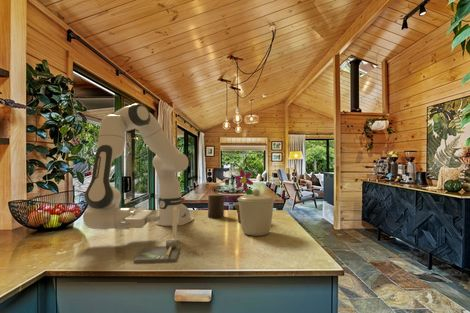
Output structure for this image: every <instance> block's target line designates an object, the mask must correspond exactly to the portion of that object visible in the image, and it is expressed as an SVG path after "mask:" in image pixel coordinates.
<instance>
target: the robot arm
mask: <svg viewBox="0 0 470 313" xmlns="http://www.w3.org/2000/svg"><path fill="white" fill-rule="evenodd" d="M134 129H136V130H137V131H138V132H139V133H140V136H141V138H142V139H143V141H144V142H145V144H146V146H147V148H148V149H149V151H151V152H153V153H154V154H155V156H154V157H153V158H152V166H153V168H154V170H155V171H156V174H157V178H158V185H159V188H158V189H159V197H158V199H157V200H158V201H157V202H158V208H157V215H155V214H153V210H151V209H145V208H144V209H142V208H141V209H140V208H138V209H137V208H136V207H120V204H121V201H122V193H121V191H120V189H118V188H116V187H114V186H112V185H111V183H110V180H111V178H110V176H111V170H112V164H113V162H114V160H116V159H117V158H119V157H121V156H122V155H123V153H124V150H125V145H126V132H129V131H132V130H134ZM96 148H97V149H96V153H95V157H94V163H93V168H92V173H91V174H92V175H91V179H90V182H89V185H88V187H87V188H86V190H85V194H84V199H85V202H86V204H87V205H88V206H89V207H88V208H87V209H85V210H84V212H83V216H82V218H83V219H82V220H83V223H84V225H85V226H86V227H87V229H91V230H101V231H102V230H106V231H107V230H111V229H114V230H130V229H142V228H144V227H145V226H146V225H147V224H148V223H152V222H155V224H156V225H158V226H163V227H164V226H165V227H168V226H171V227H172V224H173V208H174V207H175V206H177V226H183V225H186V224H188V223H190V222H192V221H194V220H195V217H193V216H191V211H190V209H189V208H188V207H187V206H186V205H185V204H183V202H184V201H186V197H185V196H184V197H183V196H181V183H180V181H179V180H178V178H177V175H176V173H181V172H183V171H184V172H185V170H187V168H188V167H189V158H188V156H187V155H186V154H185V153H182V152H181V151H180V150H179V149H178V148H177V147H176V146H175V145H174V143H172V142H171V141H170V139H169V138H168V136H167V134H166V133H165V131H164V129H163V128H162V126H161V124H160V122H158V119H157V118H156V117H155V116H154V115H153V114H152V113H151V112H150V111H149V109H148V108H147V107H146V106H145V105H143V104H142V103H133V104H131V105H127V106H123V107H121V108H120V109H118V110H115V111H114V112H113V113H111V114H106V115H105V116H103V118H102V119H101V122H100V125H99V129H98V137H97V147H96Z"/></svg>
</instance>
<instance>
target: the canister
mask: <svg viewBox="0 0 470 313" xmlns="http://www.w3.org/2000/svg"><path fill="white" fill-rule="evenodd" d="M252 191H253V192H252V193H253V194H250V195H249V194H248V195H247V194H244V195H241V196H239V197H238V198H236V199H237V202H238V203H239V210H240V220H241V223H240V226H241V230H242V232H243V233H244V234H245V235H248V236H255V237H259V236H260V237H261V236H265V235H268V234H269V233H270V231H271V228H272V227H271V226H272V221H273V214H274V213H273V210H274V204H275V203H274V202H275V201H276V199H275V198H273V196H271V195H267V194H260V193H261V191H260V189H257V188H255V189H253V190H252Z"/></svg>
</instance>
